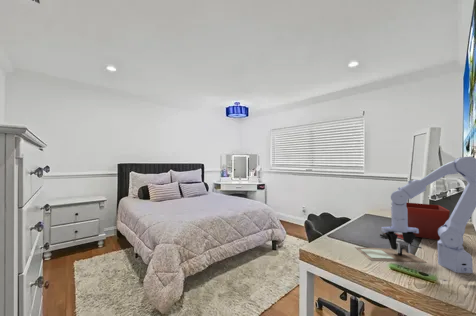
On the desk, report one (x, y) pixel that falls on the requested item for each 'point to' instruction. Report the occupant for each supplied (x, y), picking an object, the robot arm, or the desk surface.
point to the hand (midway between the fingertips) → (400, 249)
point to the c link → (402, 246)
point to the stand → (389, 255)
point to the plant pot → (426, 219)
